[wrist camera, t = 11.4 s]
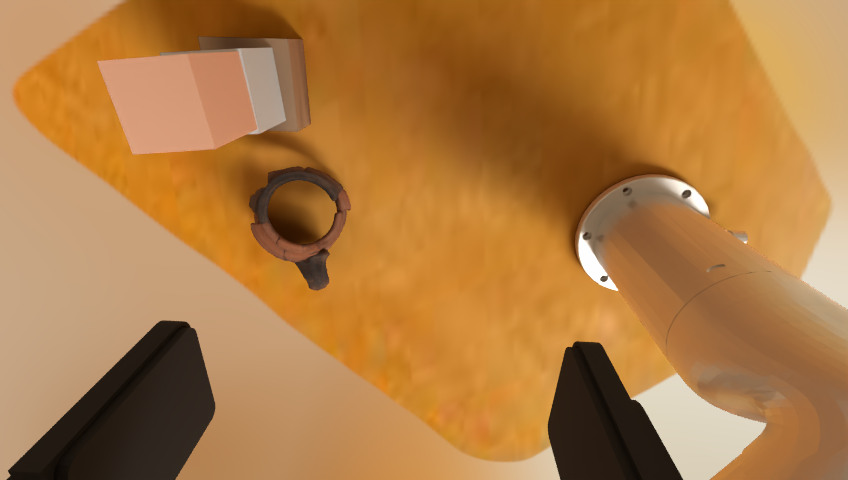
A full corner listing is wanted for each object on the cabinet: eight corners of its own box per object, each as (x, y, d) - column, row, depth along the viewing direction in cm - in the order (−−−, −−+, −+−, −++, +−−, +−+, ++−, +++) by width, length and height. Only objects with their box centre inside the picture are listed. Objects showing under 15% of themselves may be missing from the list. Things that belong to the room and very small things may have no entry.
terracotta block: (238, 51, 27) (187, 53, 21) (257, 128, 29) (215, 149, 23) (165, 57, 27) (96, 61, 22) (190, 133, 29) (132, 154, 24)
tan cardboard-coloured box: (303, 39, 35) (287, 38, 31) (311, 123, 38) (298, 131, 34) (222, 37, 35) (197, 36, 31) (237, 120, 38) (215, 129, 34)
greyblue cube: (272, 47, 31) (240, 48, 27) (285, 120, 34) (259, 133, 29) (203, 51, 32) (159, 52, 27) (221, 123, 34) (184, 136, 29)
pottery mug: (238, 191, 41) (225, 183, 33) (326, 160, 44) (333, 145, 36) (286, 297, 43) (285, 313, 35) (368, 261, 46) (384, 269, 38)
